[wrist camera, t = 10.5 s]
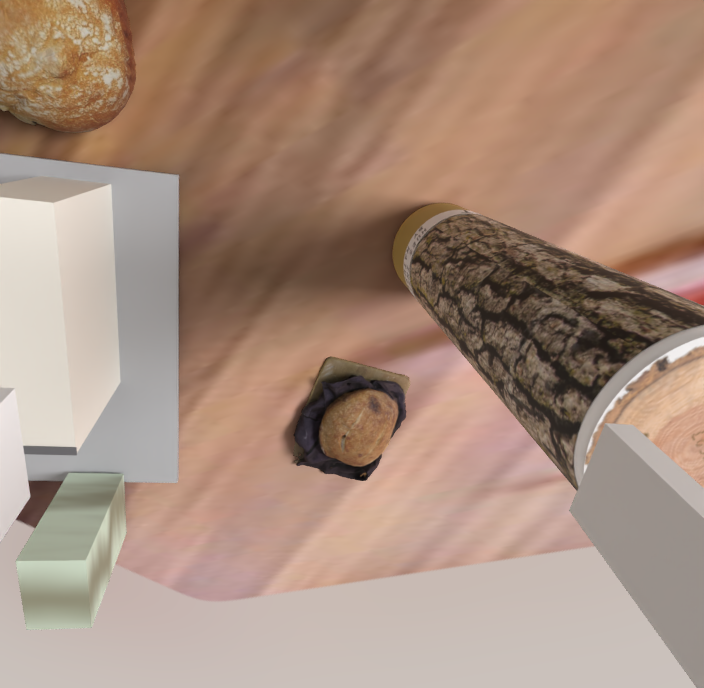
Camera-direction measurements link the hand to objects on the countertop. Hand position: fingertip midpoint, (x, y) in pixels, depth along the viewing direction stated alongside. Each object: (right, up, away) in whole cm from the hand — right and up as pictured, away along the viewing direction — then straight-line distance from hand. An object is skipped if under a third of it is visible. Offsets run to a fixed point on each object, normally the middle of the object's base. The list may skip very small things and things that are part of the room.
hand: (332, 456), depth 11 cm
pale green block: (-20, -10, +29) cm, 36 cm away
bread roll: (-17, +21, +17) cm, 32 cm away
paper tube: (+7, +10, +25) cm, 28 cm away
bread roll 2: (0, -3, +31) cm, 31 cm away
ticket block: (-18, +4, +24) cm, 30 cm away
